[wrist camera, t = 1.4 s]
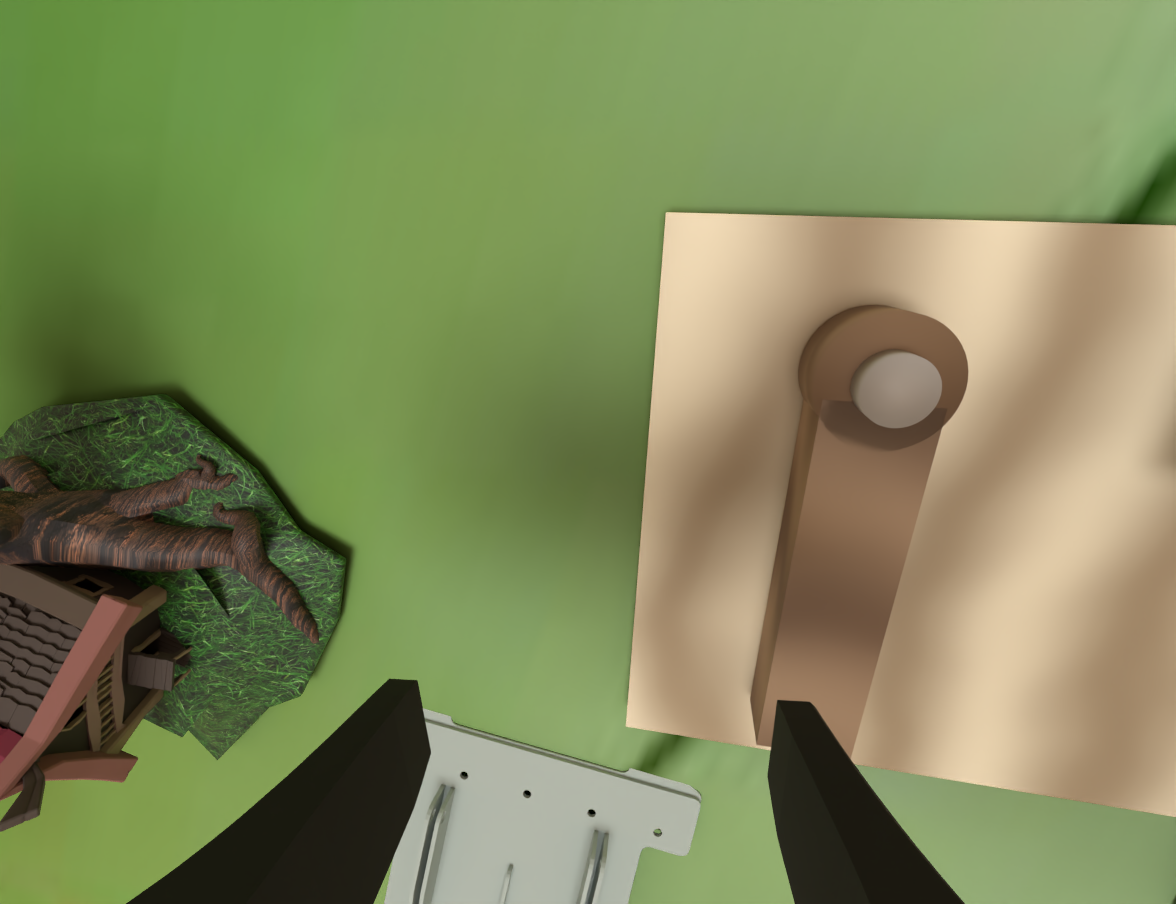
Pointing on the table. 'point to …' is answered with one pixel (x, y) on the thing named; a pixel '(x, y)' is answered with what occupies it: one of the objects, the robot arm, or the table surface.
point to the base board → (933, 494)
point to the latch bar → (852, 507)
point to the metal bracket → (530, 824)
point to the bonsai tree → (143, 591)
